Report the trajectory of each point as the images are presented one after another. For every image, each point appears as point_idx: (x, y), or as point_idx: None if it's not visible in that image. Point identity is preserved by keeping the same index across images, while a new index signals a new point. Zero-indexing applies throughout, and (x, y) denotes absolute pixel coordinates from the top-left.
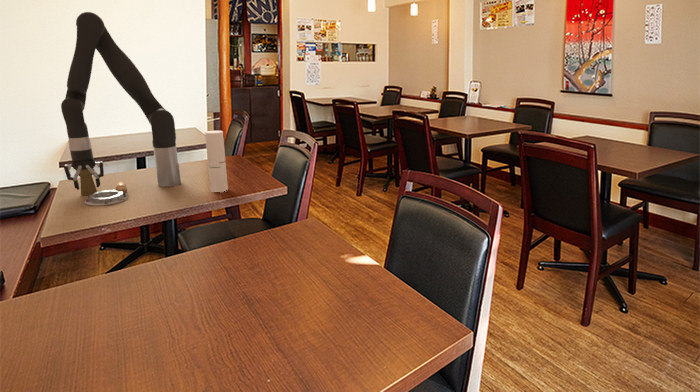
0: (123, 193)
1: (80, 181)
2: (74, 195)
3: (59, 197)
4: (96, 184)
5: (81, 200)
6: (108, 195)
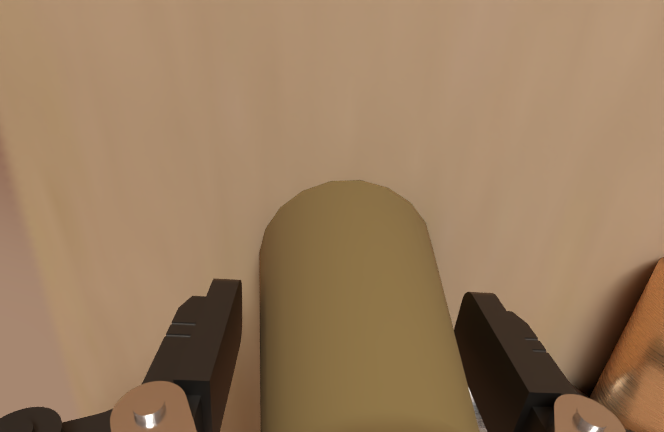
0: None
1: (260, 396)
2: (188, 223)
3: (26, 224)
4: (468, 379)
5: None
6: None
